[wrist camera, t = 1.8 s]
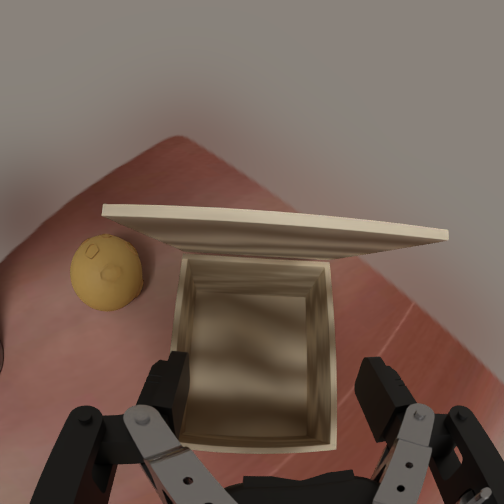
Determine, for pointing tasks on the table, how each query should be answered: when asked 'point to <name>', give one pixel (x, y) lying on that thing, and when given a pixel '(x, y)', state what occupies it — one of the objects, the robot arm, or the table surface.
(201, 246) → the lid flap
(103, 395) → the table surface
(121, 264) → the stress ball
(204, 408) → the carton
